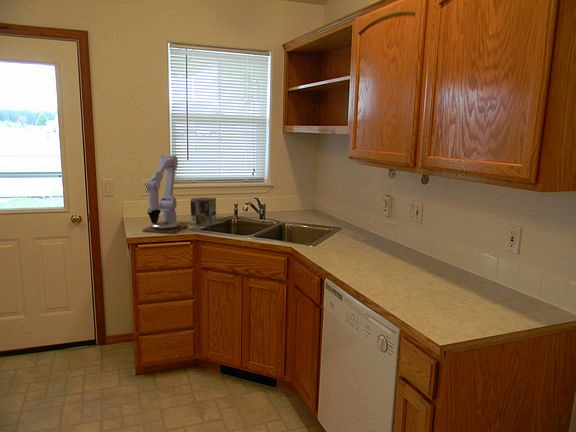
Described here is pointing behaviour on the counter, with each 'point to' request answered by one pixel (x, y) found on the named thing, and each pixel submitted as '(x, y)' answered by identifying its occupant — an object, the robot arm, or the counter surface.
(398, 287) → the counter surface
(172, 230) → the wheel base
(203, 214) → the coffee box
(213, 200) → the dark piece
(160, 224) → the handwheel
